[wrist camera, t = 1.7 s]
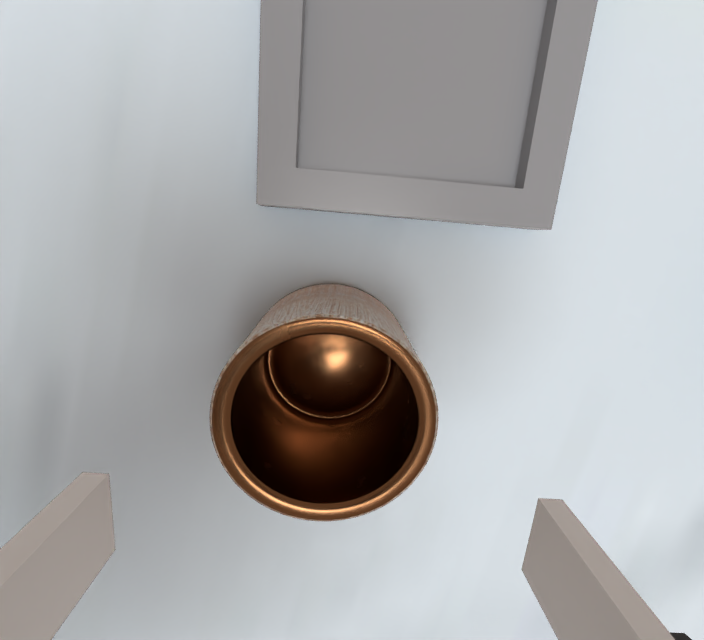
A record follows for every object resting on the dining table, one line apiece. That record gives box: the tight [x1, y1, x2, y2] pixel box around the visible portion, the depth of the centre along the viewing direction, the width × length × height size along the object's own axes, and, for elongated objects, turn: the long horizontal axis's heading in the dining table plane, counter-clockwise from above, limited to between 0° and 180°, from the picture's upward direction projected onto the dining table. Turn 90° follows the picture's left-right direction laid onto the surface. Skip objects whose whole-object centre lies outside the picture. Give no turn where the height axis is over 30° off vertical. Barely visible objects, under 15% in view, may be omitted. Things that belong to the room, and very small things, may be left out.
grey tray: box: [256, 0, 598, 230], centre depth 21 cm, size 18×21×2 cm
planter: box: [210, 284, 438, 521], centre depth 22 cm, size 11×11×10 cm
